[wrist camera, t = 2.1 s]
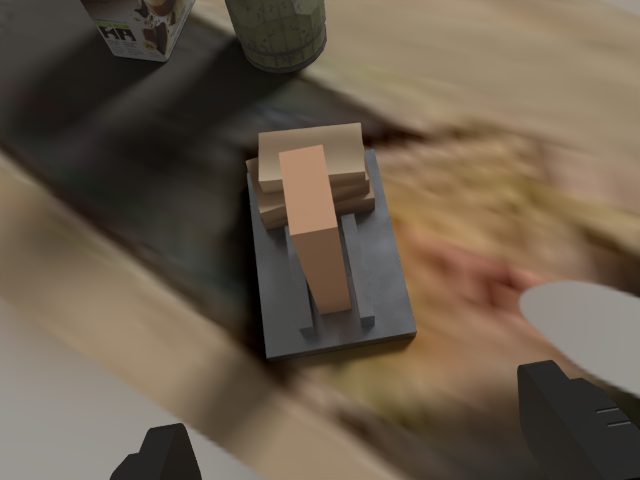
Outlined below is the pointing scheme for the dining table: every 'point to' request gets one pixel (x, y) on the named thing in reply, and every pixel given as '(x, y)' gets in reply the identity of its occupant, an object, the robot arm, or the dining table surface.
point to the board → (315, 226)
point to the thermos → (279, 32)
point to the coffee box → (140, 25)
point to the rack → (362, 278)
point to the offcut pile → (341, 161)
